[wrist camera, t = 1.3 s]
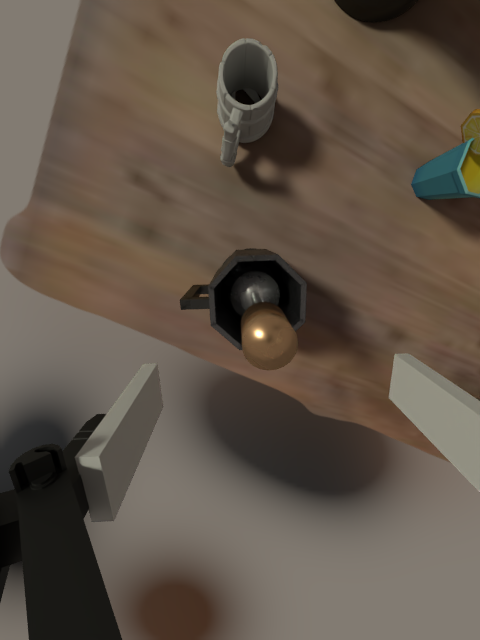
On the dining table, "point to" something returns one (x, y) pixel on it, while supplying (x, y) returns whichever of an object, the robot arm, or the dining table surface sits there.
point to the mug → (253, 77)
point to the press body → (222, 283)
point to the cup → (453, 167)
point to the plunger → (263, 321)
